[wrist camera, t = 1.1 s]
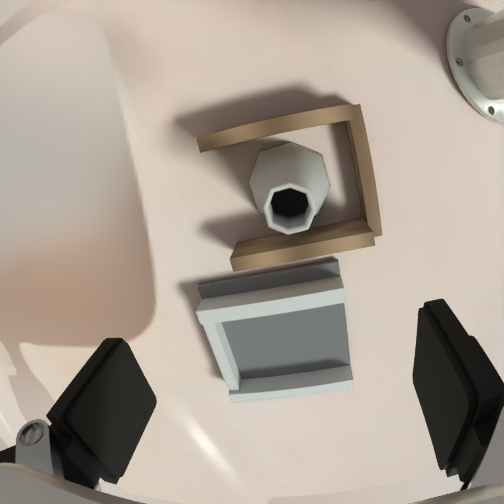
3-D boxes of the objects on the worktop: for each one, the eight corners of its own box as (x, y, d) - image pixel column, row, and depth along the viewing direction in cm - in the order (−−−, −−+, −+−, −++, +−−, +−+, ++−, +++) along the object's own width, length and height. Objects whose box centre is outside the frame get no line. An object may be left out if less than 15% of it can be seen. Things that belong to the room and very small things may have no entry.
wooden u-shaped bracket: (355, 105, 25) (365, 101, 21) (376, 228, 28) (388, 242, 25) (209, 136, 27) (196, 137, 23) (240, 254, 31) (233, 271, 27)
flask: (249, 141, 27) (228, 145, 18) (332, 145, 26) (354, 151, 17) (248, 219, 30) (228, 262, 20) (327, 224, 29) (343, 268, 20)
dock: (337, 259, 30) (341, 272, 27) (351, 379, 35) (354, 397, 32) (199, 283, 32) (190, 298, 30) (239, 393, 38) (235, 411, 35)
